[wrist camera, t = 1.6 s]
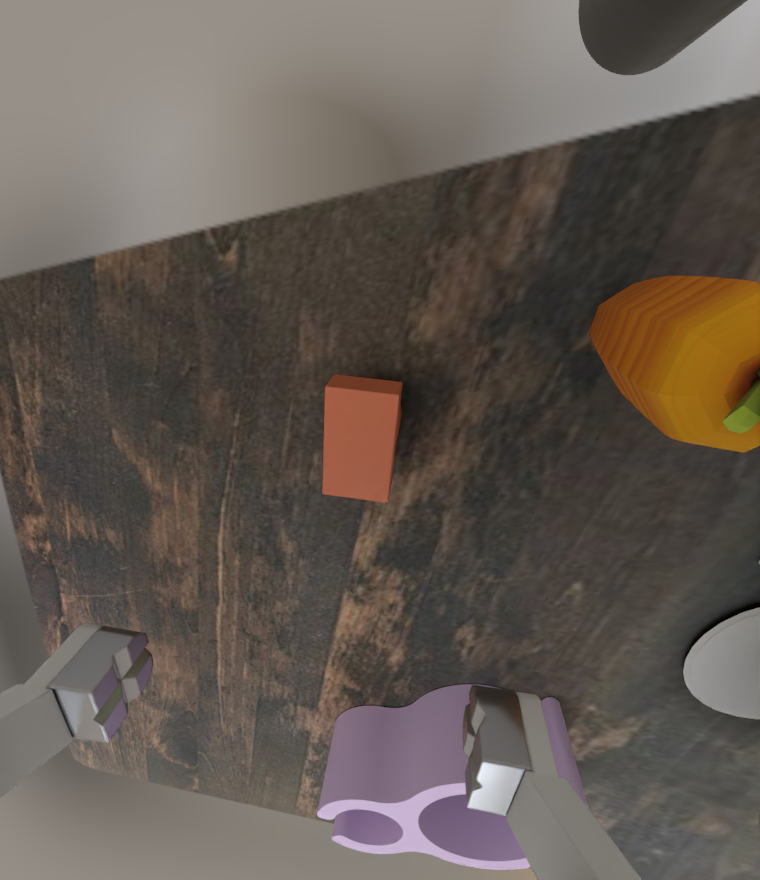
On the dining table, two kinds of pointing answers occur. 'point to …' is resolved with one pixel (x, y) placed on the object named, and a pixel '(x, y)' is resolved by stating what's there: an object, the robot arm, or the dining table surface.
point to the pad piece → (360, 436)
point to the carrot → (687, 356)
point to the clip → (421, 782)
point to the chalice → (728, 667)
